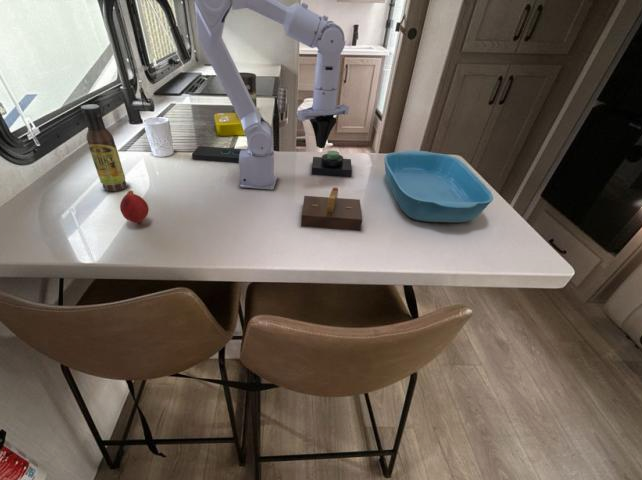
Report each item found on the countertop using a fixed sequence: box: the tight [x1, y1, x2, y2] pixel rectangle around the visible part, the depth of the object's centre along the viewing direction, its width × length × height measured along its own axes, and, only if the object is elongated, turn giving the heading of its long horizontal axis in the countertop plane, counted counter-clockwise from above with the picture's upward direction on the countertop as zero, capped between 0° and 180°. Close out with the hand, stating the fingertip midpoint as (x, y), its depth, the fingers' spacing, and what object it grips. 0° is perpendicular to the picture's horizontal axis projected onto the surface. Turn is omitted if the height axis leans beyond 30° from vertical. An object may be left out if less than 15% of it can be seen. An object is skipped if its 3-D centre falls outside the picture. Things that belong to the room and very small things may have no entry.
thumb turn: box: [327, 186, 339, 212], centre depth 78 cm, size 6×1×4 cm, turn 164°
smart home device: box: [191, 145, 247, 164], centre depth 109 cm, size 8×2×20 cm
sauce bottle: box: [80, 103, 127, 192], centre depth 84 cm, size 6×6×20 cm
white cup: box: [142, 116, 175, 158], centre depth 107 cm, size 8×8×10 cm
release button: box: [326, 150, 340, 160], centre depth 101 cm, size 4×4×2 cm
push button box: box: [310, 153, 353, 178], centre depth 102 cm, size 12×9×4 cm
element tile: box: [213, 112, 246, 137], centre depth 129 cm, size 15×15×5 cm
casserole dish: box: [384, 150, 494, 223], centre depth 89 cm, size 37×22×7 cm, turn 179°
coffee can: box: [234, 72, 258, 113], centre depth 145 cm, size 10×10×14 cm
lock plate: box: [300, 195, 363, 232], centre depth 81 cm, size 14×10×3 cm
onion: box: [119, 189, 150, 224], centre depth 75 cm, size 6×6×8 cm
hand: (320, 146), depth 89 cm, fingers closed
